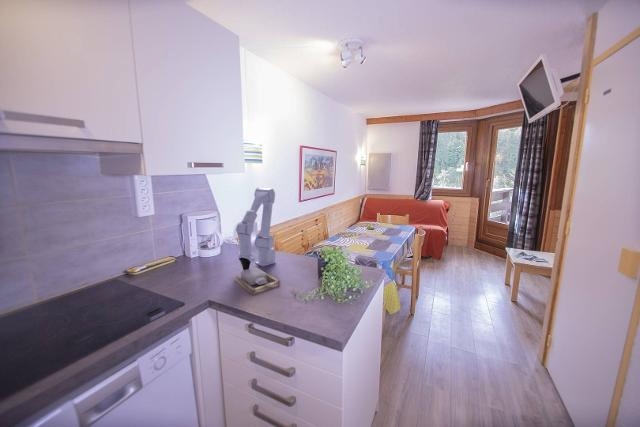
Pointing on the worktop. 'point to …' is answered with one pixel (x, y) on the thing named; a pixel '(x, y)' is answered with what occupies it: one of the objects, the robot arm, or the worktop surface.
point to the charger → (254, 276)
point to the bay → (261, 288)
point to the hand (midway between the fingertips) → (246, 270)
